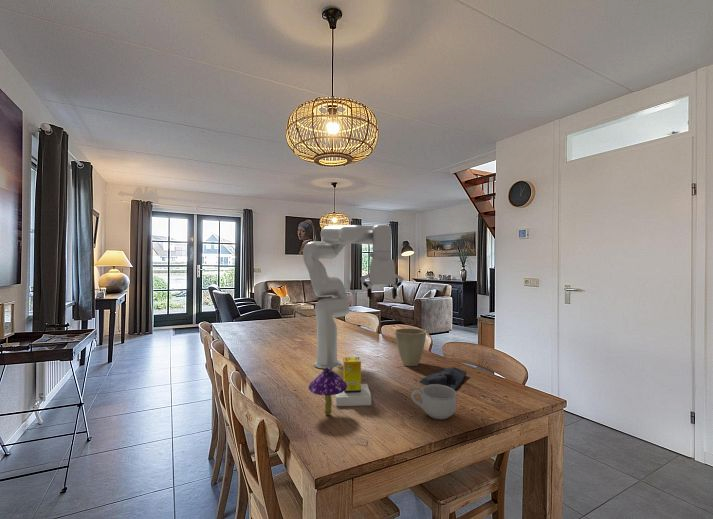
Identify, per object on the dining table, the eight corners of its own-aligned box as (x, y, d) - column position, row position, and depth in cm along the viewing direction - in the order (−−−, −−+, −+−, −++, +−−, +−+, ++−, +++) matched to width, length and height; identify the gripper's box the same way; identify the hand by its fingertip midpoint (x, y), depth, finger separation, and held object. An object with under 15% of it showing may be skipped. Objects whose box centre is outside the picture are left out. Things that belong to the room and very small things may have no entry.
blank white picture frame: (335, 392, 127) (335, 384, 127) (367, 391, 128) (367, 383, 128) (336, 406, 115) (336, 397, 115) (371, 405, 116) (371, 395, 116)
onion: (325, 383, 137) (325, 365, 137) (336, 377, 144) (336, 360, 144) (343, 386, 133) (343, 368, 134) (352, 380, 140) (352, 363, 141)
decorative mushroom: (304, 423, 103) (305, 373, 103) (312, 405, 115) (312, 361, 115) (345, 424, 102) (345, 374, 102) (348, 406, 114) (348, 362, 115)
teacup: (457, 410, 111) (457, 386, 111) (455, 425, 101) (455, 398, 101) (414, 405, 116) (414, 381, 116) (409, 418, 106) (409, 393, 106)
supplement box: (343, 387, 124) (343, 357, 124) (359, 386, 125) (359, 356, 125) (344, 393, 118) (344, 361, 118) (361, 392, 119) (361, 361, 119)
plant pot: (430, 362, 165) (430, 329, 165) (419, 370, 152) (419, 335, 153) (402, 358, 173) (402, 326, 173) (389, 365, 160) (389, 331, 161)
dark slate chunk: (473, 377, 144) (473, 366, 145) (453, 393, 127) (453, 381, 127) (439, 371, 154) (439, 360, 154) (416, 384, 136) (416, 373, 136)
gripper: (361, 255, 131) (361, 300, 131) (405, 255, 133) (405, 299, 133) (359, 256, 139) (359, 298, 139) (401, 256, 140) (401, 297, 140)
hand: (382, 298), depth 136 cm, fingers open, 9 cm apart
